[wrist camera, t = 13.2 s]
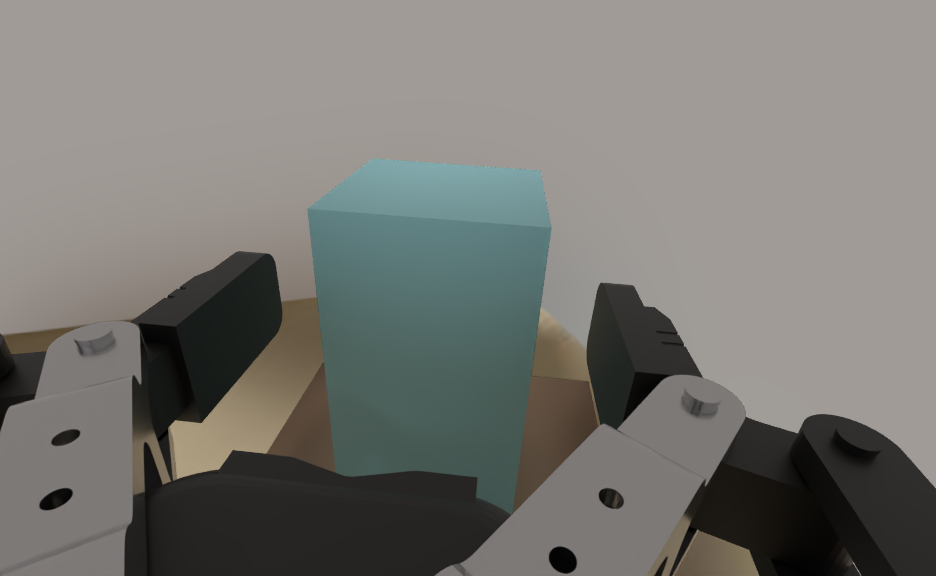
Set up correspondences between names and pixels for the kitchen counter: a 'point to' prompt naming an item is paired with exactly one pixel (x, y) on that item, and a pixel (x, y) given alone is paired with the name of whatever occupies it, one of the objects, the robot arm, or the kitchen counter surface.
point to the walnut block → (543, 446)
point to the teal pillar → (431, 317)
